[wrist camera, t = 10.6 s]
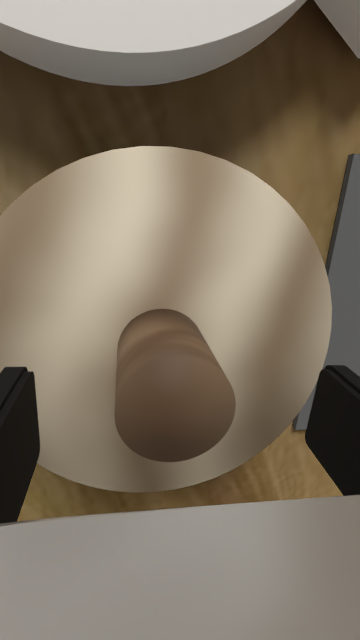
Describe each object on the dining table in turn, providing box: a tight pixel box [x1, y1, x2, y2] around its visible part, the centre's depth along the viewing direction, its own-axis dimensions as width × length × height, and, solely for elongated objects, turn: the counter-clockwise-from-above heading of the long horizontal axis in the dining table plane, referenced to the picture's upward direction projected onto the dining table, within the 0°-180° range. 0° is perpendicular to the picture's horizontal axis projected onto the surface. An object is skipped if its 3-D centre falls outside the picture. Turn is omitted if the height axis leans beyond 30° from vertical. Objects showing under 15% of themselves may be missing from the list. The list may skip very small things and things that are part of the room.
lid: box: [0, 146, 332, 493], centre depth 14 cm, size 17×17×6 cm
